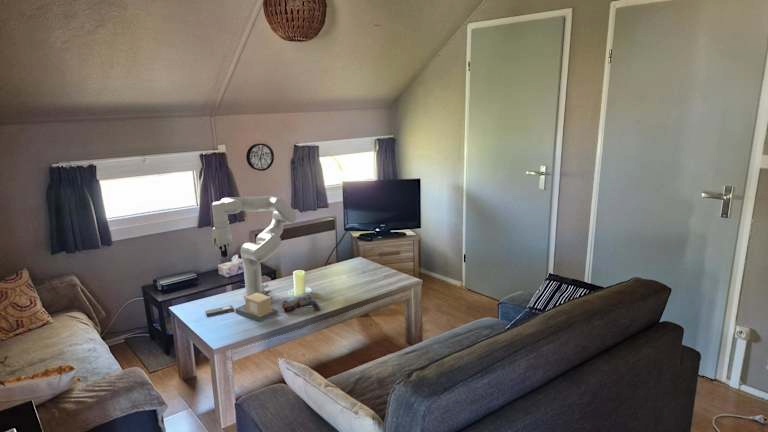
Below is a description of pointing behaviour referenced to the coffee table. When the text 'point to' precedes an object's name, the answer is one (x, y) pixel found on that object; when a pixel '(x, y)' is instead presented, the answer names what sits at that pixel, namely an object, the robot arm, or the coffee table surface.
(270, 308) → the carton
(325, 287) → the coffee table surface
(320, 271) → the coffee table surface
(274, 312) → the podium
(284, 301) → the toy gun
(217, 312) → the remote
